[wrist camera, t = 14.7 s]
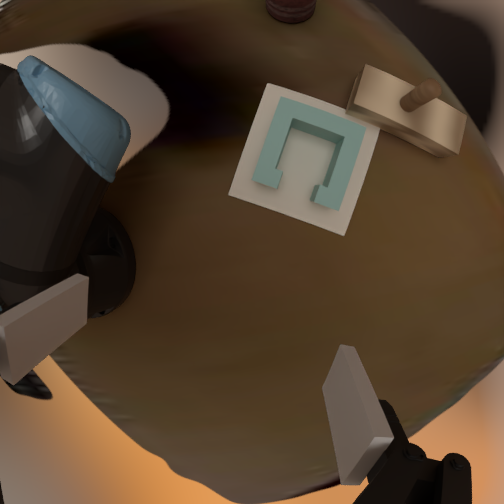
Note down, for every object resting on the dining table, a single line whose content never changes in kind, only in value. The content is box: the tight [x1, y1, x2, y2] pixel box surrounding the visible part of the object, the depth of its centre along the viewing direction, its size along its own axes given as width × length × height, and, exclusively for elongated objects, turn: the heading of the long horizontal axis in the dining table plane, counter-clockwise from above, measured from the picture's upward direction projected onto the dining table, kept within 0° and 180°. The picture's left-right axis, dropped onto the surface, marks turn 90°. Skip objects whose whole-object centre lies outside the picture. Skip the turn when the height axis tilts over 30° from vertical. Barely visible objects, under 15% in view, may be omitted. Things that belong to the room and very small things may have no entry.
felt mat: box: [228, 83, 380, 236], centre depth 34 cm, size 14×14×1 cm
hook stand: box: [345, 64, 467, 158], centre depth 27 cm, size 13×5×12 cm, turn 71°
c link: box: [252, 96, 366, 211], centre depth 32 cm, size 9×9×5 cm
